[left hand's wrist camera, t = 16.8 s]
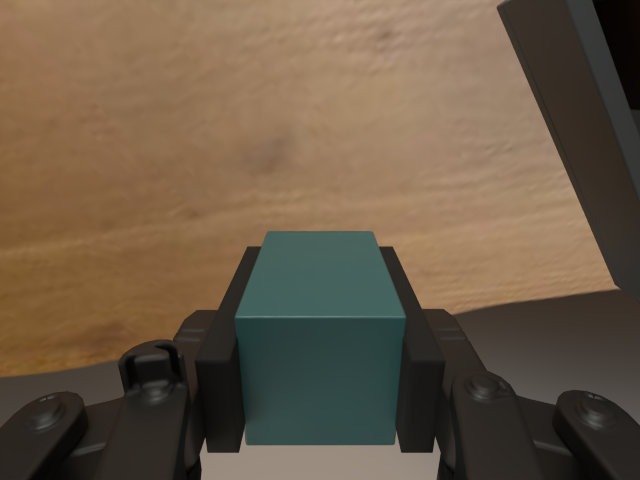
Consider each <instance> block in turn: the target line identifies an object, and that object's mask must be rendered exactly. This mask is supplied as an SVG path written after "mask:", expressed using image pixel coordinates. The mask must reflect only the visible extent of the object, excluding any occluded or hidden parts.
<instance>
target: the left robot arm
mask: <svg viewBox="0 0 640 480" xmlns="http://www.w3.org/2000/svg"><path fill="white" fill-rule="evenodd" d="M379 249H380V251H381V254H382V256H383V259H384V262H385V264H386V267H387V269H388V272H389V274H390V277H391V279H392V282H393V284H394V287H395V290H396V292H397V295H398V297H399V300H400V302H401V305H402V307H403V310H404V312H405V315H406V329H405V337H403V343H402V354H401V365H400V376H399V387H398V398H397V409H396V420H395V427H396V431H397V435H398V440H399V444H400V449H401V452H402V453H432V452H433V446H434V439H435V437H436V440H437V443H438V446H439V449H440V452H441V455H440V462H439V468H438V474H437V480H640V425H639V424H638V423H637V422H636V421H635V420H634V419H633V418H632V417H631V416H630V415H629V414H628V413H627V412H625V411H624V410H623V409H622V408H620V407H619V406H618V405H617V404H615V403H614V402H612V401H610V400H608V399H606V398H604V397H602V396H600V395H597V394H594V393H590V392H587V391H579V390H571V391H566V392H563V393H562V394H561V395H560V396H559V397H558V400H557V403H556V405H553V404H548V403H544V402H540V401H535V400H531V399H527V398H524V397H521V396H518V395H516V393H515V392H514V390H513V389H512V387H511V385H510V384H509V383H507V382H506V381H505V380H504V379H503V378H501V377H500V376H498V375H496V374H493V373H491V372H489V371H487V370H486V368H485V366H484V365H483V363H482V361H481V360H480V358H479V356H478V355H477V353H476V351H475V350H474V348H473V346H472V345H471V343H470V341H469V340H468V338H467V336H466V335H465V333H464V332H463V331H462V328H461V326H460V325H459V323H458V321H457V320H456V318H455V317H453V316H452V315H451V314H449V313H448V312H447V311H445V310H444V309H422V308H421V306H420V304H419V302H418V300H417V298H416V296H415V293H414V291H413V289H412V287H411V285H410V283H409V281H408V278H407V276H406V274H405V272H404V270H403V268H402V266H401V264H400V261H399V259H398V257H397V255H396V253H395V251H394V249H393V247H379ZM260 250H261V247H247V249H246V251H245V253H244V255H243V258H242V260H241V262H240V264H239V266H238V268H237V270H236V273H235V275H234V277H233V279H232V281H231V283H230V285H229V288H228V290H227V292H226V294H225V296H224V298H223V300H222V302H221V305H220V307H219V309H218V310H197V311H195V312H194V313H193V314H191V315H190V316H189V317H187V318H186V319H185V320H184V322H183V323H182V325H181V327H180V328H179V330H178V332H177V333H176V335H175V337H174V338H173V341H171V340H153V341H149V342H144V343H142V344H140V345H137V346H135V347H133V348H131V349H130V350H129V351H127V352H126V353H124V354H123V355H122V357H121V358H120V359H119V361H118V366H119V371H120V375H121V379H122V384H123V388H124V392H125V394H124V397H121V398H118V399H115V400H111V401H107V402H103V403H99V404H94V405H90V406H86V407H85V406H84V402H83V399H82V398H81V397H80V396H79V395H78V394H77V393H72V392H58V393H52V394H49V395H46V396H43V397H40V398H38V399H36V400H34V401H32V402H30V403H28V404H27V405H25V406H24V407H23V408H21V409H20V410H19V411H18V412H16V413H15V414H14V415H13V416H12V417H11V418H10V419H9V420H8V421H7V422H6V423H5V424H4V425H3V426H2V427H1V428H0V480H201V471H202V469H201V462H200V455H199V454H200V451H201V448H202V445H203V442H204V439H205V438H206V445H207V452H208V453H239V450H240V445H241V441H242V437H243V432H244V428H245V418H244V407H243V396H242V384H241V373H240V362H239V351H238V340H237V337H236V330H235V319H234V317H235V315H236V312H237V310H238V307H239V304H240V302H241V299H242V297H243V294H244V291H245V289H246V286H247V284H248V281H249V278H250V276H251V273H252V270H253V268H254V265H255V263H256V260H257V257H258V255H259V252H260Z"/></svg>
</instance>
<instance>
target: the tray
mask: <svg viewBox="0 0 640 480" xmlns="http://www.w3.org/2000/svg"><path fill="white" fill-rule="evenodd" d="M594 1H595V0H505V1H504V2H502V3H501V4H499V5H498V6H497V10H498V12H499V15H500V17H501V20H502V22H503V24H504V27H505V29H506V31H507V34H508V36H509V38H510V41H511V43H512V45H513V48H514V50H515V52H516V55H517V57H518V59H519V62H520V64H521V66H522V69H523V71H524V73H525V76H526V78H527V80H528V83H529V85H530V87H531V90H532V92H533V94H534V97H535V99H536V101H537V104H538V106H539V108H540V111H541V113H542V115H543V118H544V120H545V122H546V125H547V127H548V129H549V132H550V134H551V136H552V139H553V141H554V143H555V146H556V148H557V150H558V153H559V155H560V157H561V160H562V162H563V164H564V167H565V169H566V171H567V174H568V176H569V178H570V181H571V183H572V185H573V188H574V190H575V192H576V195H577V197H578V199H579V202H580V204H581V206H582V209H583V211H584V213H585V216H586V218H587V220H588V223H589V225H590V228H591V230H592V232H593V235H594V237H595V239H596V242H597V244H598V246H599V249H600V251H601V253H602V256H603V258H604V260H605V263H606V265H607V267H608V270H609V272H610V274H611V277H612V279H613V281H614V284H615V285H616V286H618V287H619V288H620V289H622V290H624V291H625V292H626V293H627V294H629V295H630V296H632V297H633V298H634V299H636V300H637V301H639V302H640V110H630V108H629V105H628V102H627V99H626V96H625V94H624V91H623V88H622V85H621V82H620V79H619V76H618V74H617V71H616V68H615V65H614V62H613V59H612V56H611V54H610V51H609V48H608V45H607V42H606V39H605V36H604V34H603V31H602V28H601V25H600V22H599V19H598V16H597V14H596V11H595V8H594V5H593V2H594Z"/></svg>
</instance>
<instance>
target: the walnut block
mask: <svg viewBox="0 0 640 480" xmlns="http://www.w3.org/2000/svg"><path fill="white" fill-rule="evenodd" d="M593 5H594V8H595V11H596V14H597V16H598V19H599V22H600V25H601V28H602V31H603V34H604V36H605V39H606V42H607V45H608V48H609V51H610V54H611V56H612V59H613V62H614V65H615V68H616V71H617V74H618V76H619V79H620V82H621V85H622V88H623V91H624V94H625V96H626V99H627V102H628V105H629V108H630V110H640V0H595V1H594V2H593Z"/></svg>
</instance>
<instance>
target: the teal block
mask: <svg viewBox="0 0 640 480" xmlns="http://www.w3.org/2000/svg"><path fill="white" fill-rule="evenodd" d="M234 319H235V330H236V337H237V340H238V351H239V362H240V373H241V384H242V396H243V407H244V418H245V428H244V429H245V440H246V444H247V445H394V444H395V436H396V427H395V420H396V409H397V398H398V387H399V376H400V365H401V354H402V343H403V337H405V329H406V315H405V312H404V310H403V307H402V305H401V302H400V300H399V297H398V295H397V292H396V290H395V287H394V284H393V282H392V279H391V277H390V274H389V272H388V269H387V267H386V264H385V262H384V259H383V256H382V254H381V251H380V249H379V246H378V244H377V241H376V239H375V236H374V234H373V232H372V231H268V232H267V234H266V237H265V239H264V242H263V244H262V247H261V250H260V252H259V255H258V257H257V260H256V263H255V265H254V268H253V270H252V273H251V276H250V278H249V281H248V284H247V286H246V289H245V291H244V294H243V297H242V299H241V302H240V304H239V307H238V310H237V312H236V315H235V317H234Z"/></svg>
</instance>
